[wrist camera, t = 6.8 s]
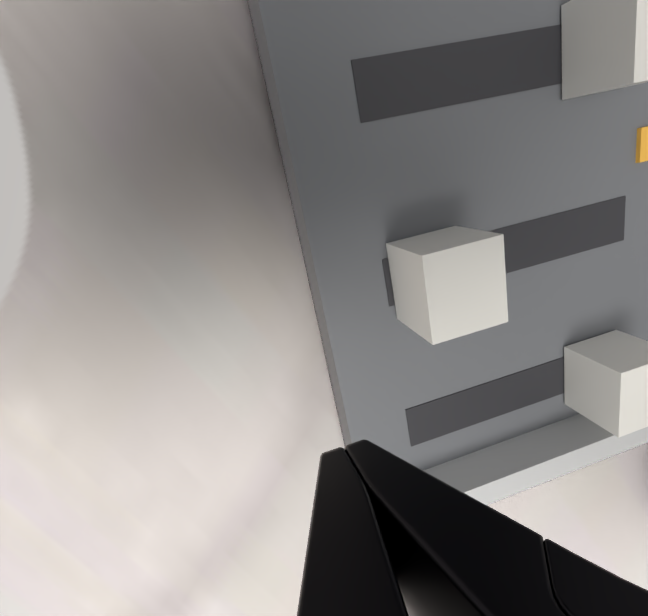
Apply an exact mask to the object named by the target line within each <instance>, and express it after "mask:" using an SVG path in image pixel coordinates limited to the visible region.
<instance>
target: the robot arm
mask: <svg viewBox="0 0 648 616" xmlns="http://www.w3.org/2000/svg"><path fill="white" fill-rule="evenodd" d="M297 616H648V590H646V589H643V588H641V587H639V586H637V585H635V584H633V583H631V582H629V581H627V580H624V579H622V578H620V577H618V576H617V575H615V574H613V573H611V572H609V571H607V570H605V569H603V568H601V567H599V566H597V565H596V564H594V563H592V562H590V561H588V560H586V559H584V558H582V557H580V556H578V555H576V554H574V553H573V552H571V551H569V550H567V549H565V548H564V547H562V546H560V545H558V544H556V543H554V542H553V541H551V540H549V539H545V540H544V541H543V537H542V536H541V535H539V534H538V533H536V532H534V531H532V530H530V529H529V528H527V527H525V526H523V525H521V524H519V523H518V522H516V521H514V520H512V519H510V518H509V517H507V516H505V515H503V514H501V513H499V512H498V511H496V510H494V509H492V508H490V507H489V506H487V505H485V504H483V503H481V502H479V501H478V500H476V499H474V498H472V497H470V496H469V495H467V494H465V493H463V492H461V491H459V490H458V489H456V488H454V487H452V486H450V485H449V484H447V483H445V482H443V481H441V480H439V479H438V478H436V477H434V476H432V475H430V474H429V473H427V472H425V471H423V470H421V469H419V468H418V467H416V466H414V465H412V464H410V463H409V462H407V461H405V460H403V459H401V458H399V457H398V456H396V455H394V454H392V453H390V452H389V451H387V450H385V449H383V448H381V447H379V446H378V445H376V444H374V443H372V442H370V441H369V440H365V439H363V440H360V441H357V442H354V443H351V444H348V445H346V446H345V449H343V448H341V447H340V448H336V449H333V450H330V451H327V452H324V453H322V455H321V457H320V463H319V469H318V476H317V483H316V490H315V497H314V503H313V510H312V517H311V524H310V530H309V537H308V544H307V551H306V557H305V564H304V571H303V578H302V585H301V591H300V598H299V605H298V612H297Z"/></svg>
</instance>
